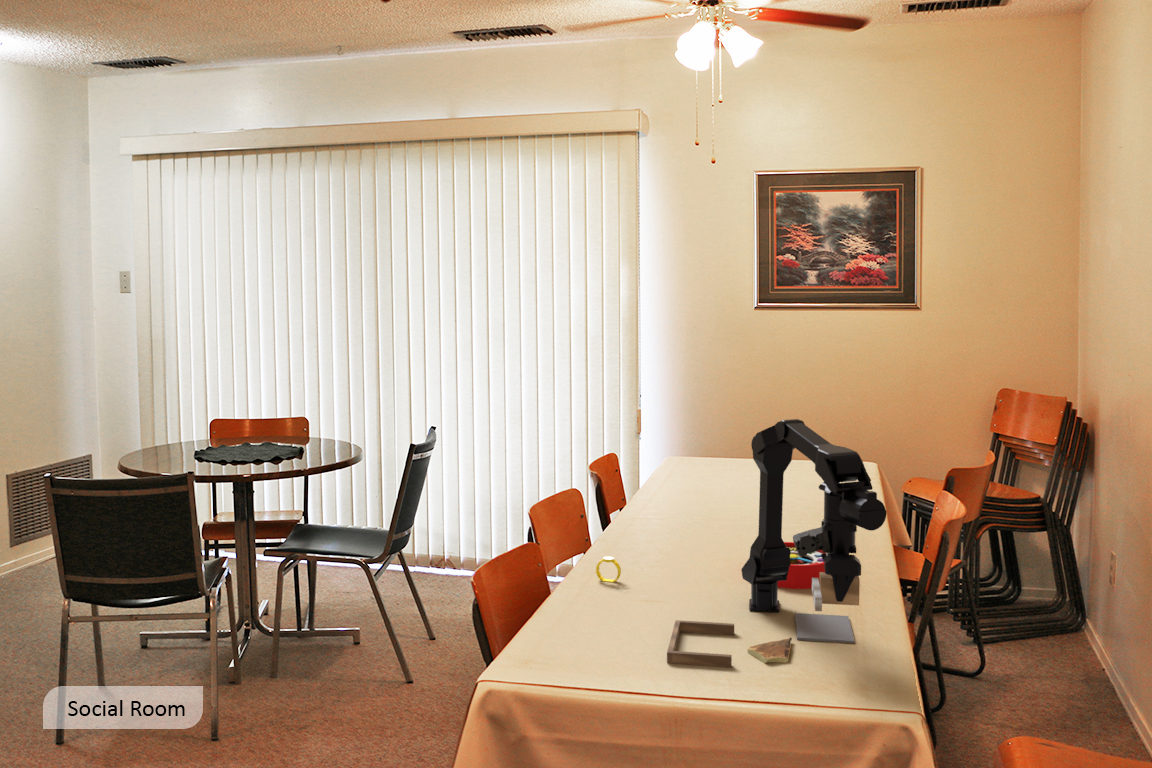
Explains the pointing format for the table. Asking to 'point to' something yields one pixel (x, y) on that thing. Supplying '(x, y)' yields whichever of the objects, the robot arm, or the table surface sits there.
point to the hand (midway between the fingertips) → (838, 597)
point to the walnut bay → (695, 657)
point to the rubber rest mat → (823, 628)
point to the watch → (611, 559)
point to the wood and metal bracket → (833, 592)
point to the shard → (772, 651)
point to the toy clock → (802, 569)
